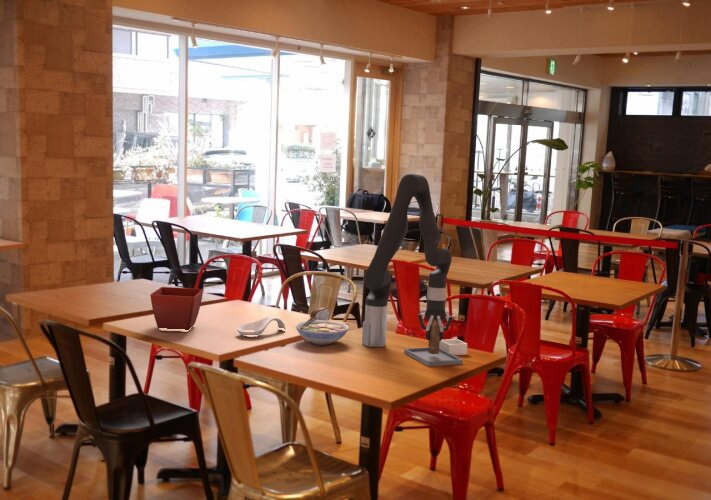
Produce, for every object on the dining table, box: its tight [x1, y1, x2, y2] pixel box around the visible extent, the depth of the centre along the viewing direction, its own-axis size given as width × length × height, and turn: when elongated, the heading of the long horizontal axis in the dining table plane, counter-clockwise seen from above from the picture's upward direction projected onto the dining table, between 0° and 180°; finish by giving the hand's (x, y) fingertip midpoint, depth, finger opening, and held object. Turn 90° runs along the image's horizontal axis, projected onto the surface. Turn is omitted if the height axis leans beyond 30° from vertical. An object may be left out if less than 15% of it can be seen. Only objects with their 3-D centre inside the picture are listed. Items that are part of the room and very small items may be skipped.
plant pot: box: [149, 286, 204, 330], centre depth 351 cm, size 19×19×17 cm
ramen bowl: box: [294, 317, 350, 346], centre depth 339 cm, size 25×23×8 cm
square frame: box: [439, 338, 468, 356], centre depth 333 cm, size 9×9×4 cm
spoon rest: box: [236, 316, 286, 336], centre depth 350 cm, size 24×12×7 cm, turn 136°
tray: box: [403, 346, 464, 367], centre depth 322 cm, size 15×21×2 cm
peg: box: [427, 319, 440, 354], centre depth 321 cm, size 3×3×14 cm
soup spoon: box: [309, 306, 331, 321], centre depth 372 cm, size 15×3×8 cm, turn 152°
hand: (434, 340), depth 321 cm, fingers closed on peg, 4 cm apart
